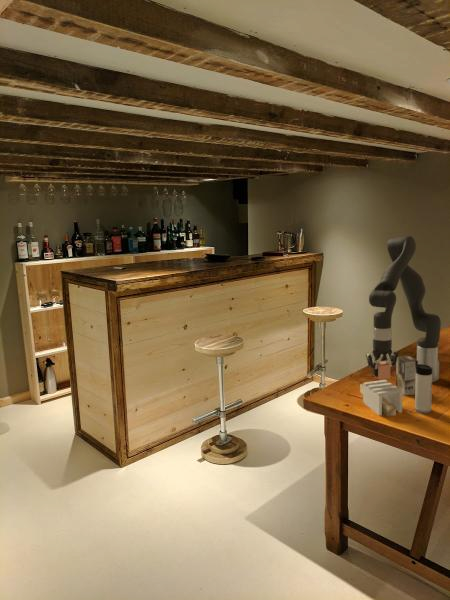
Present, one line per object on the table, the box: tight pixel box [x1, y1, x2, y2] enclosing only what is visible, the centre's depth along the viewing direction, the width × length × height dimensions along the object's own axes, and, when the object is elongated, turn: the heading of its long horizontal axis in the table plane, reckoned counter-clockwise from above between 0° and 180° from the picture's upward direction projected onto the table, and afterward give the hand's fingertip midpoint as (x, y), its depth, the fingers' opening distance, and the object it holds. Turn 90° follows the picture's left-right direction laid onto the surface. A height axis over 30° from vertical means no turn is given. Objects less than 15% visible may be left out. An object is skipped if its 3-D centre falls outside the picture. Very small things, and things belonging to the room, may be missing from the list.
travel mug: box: [414, 364, 433, 414], centre depth 187 cm, size 6×7×20 cm
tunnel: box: [362, 379, 403, 416], centre depth 194 cm, size 10×14×10 cm
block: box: [375, 361, 392, 381], centre depth 192 cm, size 5×5×6 cm
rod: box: [359, 383, 397, 417], centre depth 199 cm, size 4×26×4 cm, turn 9°
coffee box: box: [395, 354, 418, 396], centre depth 208 cm, size 9×6×16 cm
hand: (382, 375), depth 192 cm, fingers closed on block, 5 cm apart
